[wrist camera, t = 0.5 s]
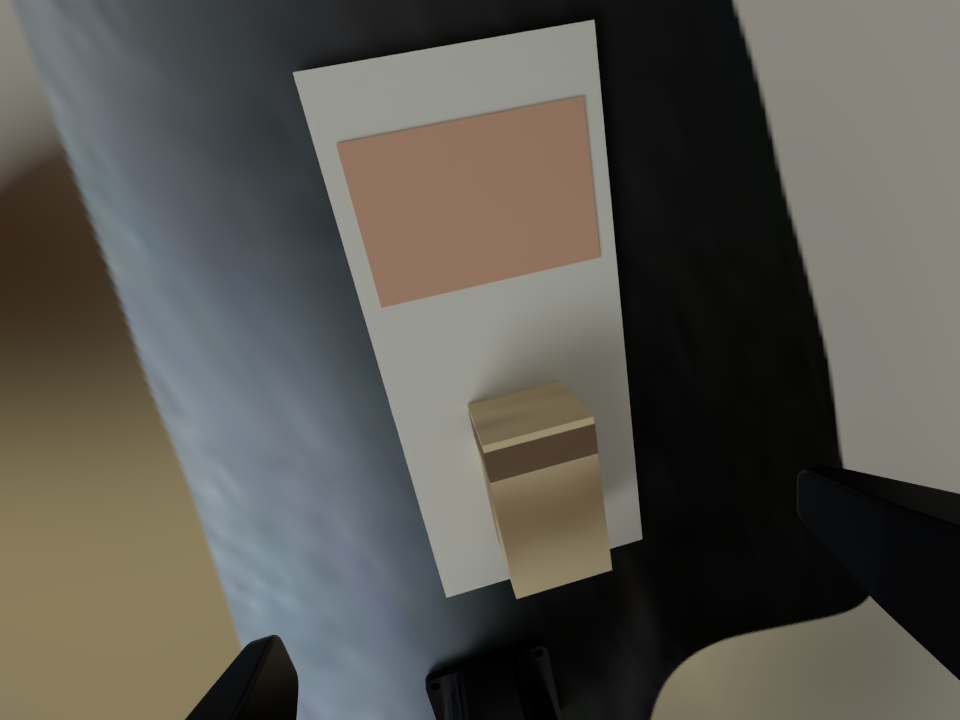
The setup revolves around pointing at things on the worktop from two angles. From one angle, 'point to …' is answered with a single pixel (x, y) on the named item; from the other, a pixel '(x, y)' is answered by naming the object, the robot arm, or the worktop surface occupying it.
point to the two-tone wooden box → (543, 486)
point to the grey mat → (480, 257)
